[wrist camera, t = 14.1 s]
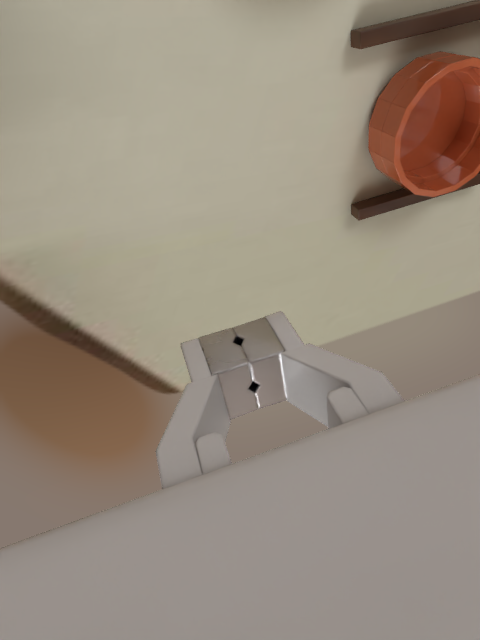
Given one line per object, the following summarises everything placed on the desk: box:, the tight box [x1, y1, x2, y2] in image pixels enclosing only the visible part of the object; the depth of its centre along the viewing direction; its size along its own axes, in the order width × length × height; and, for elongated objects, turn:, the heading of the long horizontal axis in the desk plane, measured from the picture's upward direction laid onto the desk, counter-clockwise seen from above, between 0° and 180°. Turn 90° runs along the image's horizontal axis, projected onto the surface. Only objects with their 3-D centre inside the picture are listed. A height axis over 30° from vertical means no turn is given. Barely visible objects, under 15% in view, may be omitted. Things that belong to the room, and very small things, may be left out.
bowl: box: [368, 51, 480, 197], centre depth 40 cm, size 11×11×5 cm
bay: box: [351, 0, 480, 220], centre depth 42 cm, size 16×15×2 cm
